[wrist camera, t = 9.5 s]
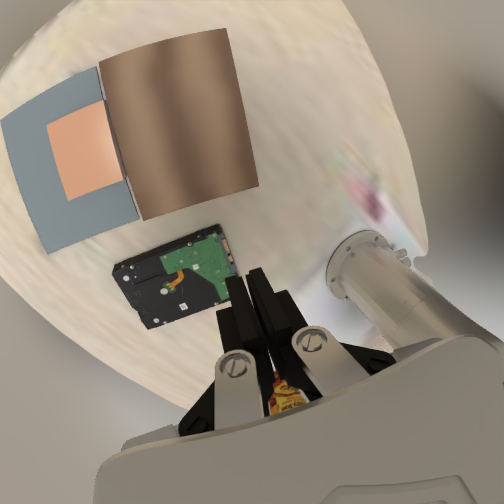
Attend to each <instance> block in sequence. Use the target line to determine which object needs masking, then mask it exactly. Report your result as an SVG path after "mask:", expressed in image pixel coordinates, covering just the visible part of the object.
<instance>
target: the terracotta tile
mask: <svg viewBox="0 0 504 504" xmlns="http://www.w3.org/2000/svg"><path fill="white" fill-rule="evenodd" d="M46 126H47V131H48V135H49V139H50V143H51V147H52V151H53V155H54V158H55V162H56V165H57V168H58V172H59V175H60V178H61V181H62V184H63V187H64V190H65V193H66V196H67V199H68V201H69V200H72V199H74V198H77V197H79V196H82V195H84V194H87V193H89V192H92V191H94V190H97V189H100V188H102V187H105V186H108V185H111V184H113V183H116V182H119V181H122V180H124V179H125V177H126V173H125V169H124V166H123V162H122V159H121V155H120V151H119V148H118V144H117V140H116V136H115V132H114V128H113V123H112V119H111V115H110V112H109V107H108V103H107V101H106V100H102V101H99V102H96V103H94V104H92V105H89V106H87V107H84V108H82V109H80V110H77V111H75V112H73V113H71V114H69V115H66V116H64V117H62V118H60V119H58V120H56V121H54V122H52V123H50V124H48V125H46Z"/></svg>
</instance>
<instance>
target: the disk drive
mask: <svg viewBox="0 0 504 504" xmlns="http://www.w3.org/2000/svg"><path fill="white" fill-rule="evenodd" d="M233 275H236V276H237V278H238V277H239V275H238V273H237V269H236V266H235V264H234V261H233V258H232V256H231V253H230V250H229V247H228V245H227V242H226V239H225V236H224V234H223V231H222V228H221V226H220V224H217V225H214V226H211V227H208V228H206V229H202V230H200V231H197V232H195V233H193V234H190V235H187V236H185V237H183V238H180V239H177V240H175V241H172V242H169V243H167V244H164V245H162V246H159V247H157V248H154V249H152V250H150V251H147V252H145V253H142V254H140V255H137V256H135V257H131V258H129V259H127V260H124V261H122V262H120V263H118V264H115V265H114V268H113V272H112V276H113V277H114V279H115V281H116V282H117V284H118V286H119V287H120V289H121V290H122V292H123V293H124V295H125V297H126V298H127V300H128V301H129V303H130V305H131V306H132V308H134V309H135V310H136V311H138V314H139V316H140V320H141V321H142V322H143V324H144V325H145V327H146V328H147V329H148V330H149V329H152V328H156V327H159V326H162V325H164V324H166V323H170V322H173V321H175V320H178V319H181V318H183V317H186V316H189V315H191V314H194V313H197V312H199V311H202V310H205V309H208V308H210V307H214V306H215V305H218V304H221V303H225V302H227V301H230V298H229V294H228V290H227V287H226V283H225V279H224V278H226V277H229V276H233Z"/></svg>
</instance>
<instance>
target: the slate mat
mask: <svg viewBox="0 0 504 504" xmlns="http://www.w3.org/2000/svg"><path fill="white" fill-rule="evenodd" d="M102 100H103V96H102V92H101V87H100V83H99V78H98V73H97V68H96V66H95V67H93V68H90V69H88V70H86V71H84V72H81V73H79V74H77V75H75V76H73V77H71V78H69V79H67V80H65V81H63V82H61V83H59V84H57V85H55V86H53V87H52V88H50V89H48V90H46V91H45V92H43V93H41V94H39V95H38V96H36V97H34V98H33V99H31V100H29V101H28V102H26V103H25V104H23V105H22V106H20V107H19V108H17V109H16V110H14V111H13V112H11V113H10V114H8V115H7V116H5V117H4V118H3V119H1V120H0V122H1V127H2V132H3V136H4V140H5V144H6V148H7V152H8V155H9V159H10V162H11V166H12V169H13V172H14V175H15V178H16V181H17V184H18V187H19V190H20V193H21V195H22V198H23V201H24V203H25V206H26V208H27V211H28V213H29V216H30V218H31V221H32V223H33V225H34V227H35V230H36V232H37V234H38V236H39V238H40V241H41V243H42V245H43V247H44V249H45V251H46V253H47V255H48V254H50V253H53V252H55V251H57V250H60V249H62V248H64V247H67V246H69V245H72V244H74V243H77V242H79V241H82V240H84V239H87V238H89V237H92V236H95V235H97V234H100V233H102V232H105V231H108V230H110V229H113V228H116V227H119V226H121V225H124V224H127V223H130V222H133V221H135V220H138V219H139V216H138V213H137V210H136V207H135V205H134V202H133V199H132V196H131V193H130V190H129V187H128V184H127V181H126V178H125V179H124V180H122V181H119V182H116V183H113V184H111V185H108V186H105V187H102V188H100V189H97V190H94V191H92V192H89V193H87V194H84V195H82V196H79V197H77V198H74V199H72V200H69V201H68V199H67V196H66V193H65V190H64V187H63V184H62V181H61V178H60V175H59V172H58V168H57V165H56V162H55V158H54V155H53V151H52V147H51V143H50V139H49V135H48V131H47V126H46V125H48V124H50V123H52V122H54V121H56V120H58V119H60V118H62V117H64V116H66V115H69V114H71V113H73V112H75V111H77V110H80V109H82V108H84V107H87V106H89V105H92V104H94V103H96V102H99V101H102Z"/></svg>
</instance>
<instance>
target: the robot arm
mask: <svg viewBox="0 0 504 504" xmlns="http://www.w3.org/2000/svg"><path fill="white" fill-rule="evenodd" d="M406 255H407V251H406V250H405V249H404V248H403V249H401V250H398V251H397V252H395V251H393V250H391V249H390V247H389V244H388V242H387V240H386V239H385V238H384V237H383V236H382V235H380V234H379V233H377V232H374V231H362V232H359V233H356V234H355V235H353V236H351V237H350V238H348V239H347V240H346V241H344V242H343V243H342V244H341V245H340V246H339V248H338V249H337V250H336V252H335V253H334V255H333V256H332V258H331V260H330V263H329V265H328V269H327V274H326V281H327V285H328V287H329V289H330V291H331V292H332V293H333V294H334V295H335V296H336V297H337V298H340V299H343V300H352V301H353V302H354V303H355V305H356V306H357V307H358V308H359V309H360V310H361V311H362V313H363V314H364V315H365V316H366V317H367V318H368V319H369V321H370V322H371V323H372V324H373V325H374V326H375V327H376V329H377V330H378V331H379V332H380V333H381V334H382V336H383V337H384V338H385V339H386V340H387V342H388V343H389V344H390V345H391V346H392V347H393V349H394V350H393V353H387V352H384V351H380V350H375V349H369V348H364V347H359V346H355V345H350V344H345V343H341V342H338V341H337V340H336V339H335V338H334V337H333V336H332V334H331V333H330V332H329V331H327V330H326V329H325V328H323V327H320V326H308V324H307V323H306V321H305V319H304V317H303V316H302V314H301V312H300V311H299V309H298V307H297V306H296V304H295V302H294V301H293V299H292V297H291V295H290V294H289V292H288V291H287V290H283V291H280V292H277V293H274V291H273V289H272V287H271V285H270V283H269V282H268V280H267V278H266V276H265V274H264V272H263V270H262V268H261V267H259V268H256V269H253V270H250V271H249V274H248V275H245V276H246V280H247V284H248V288H249V292H250V295H251V299H252V302H251V300H250V297H249V294H248V292H247V289H246V286H245V284H244V281H243V279H242V276H241V277H238V278H237V276H236V275H233V276H229V277H226V278H224V279H225V283H226V287H227V290H228V294H229V298H230V301H231V305H232V307H228V308H225V309H221V310H218V311H216V315H217V320H218V325H219V330H220V335H221V340H222V345H223V349H224V354H223V355H222V356H221V357H220V358H219V359H218V361H217V362H216V366H215V380H214V382H213V383H212V384H211V385H210V386H209V388H208V389H207V390H206V391H205V392H204V394H203V395H202V396H201V397H200V398H199V400H198V401H197V402H196V403H195V404H194V406H193V407H192V408H191V409H190V410H189V411H188V413H187V414H186V415H185V416H184V417H183V418H182V420H181V421H180V423H179V424H178V425H175V426H173V425H172V424H171V425H168V426H166V427H163V428H160V429H158V430H155V431H152V432H150V433H146V434H144V435H141V436H138V437H134V438H132V439H129V440H128V441H126V442H125V444H123V446H122V449H121V452H119V453H117V454H115V455H113V456H112V457H110V458H109V459H107V460H106V461H104V463H103V464H102V465H101V466H100V468H99V469H98V472H97V475H96V479H95V485H94V497H93V504H504V342H503V341H501V340H500V339H499V338H497V337H496V336H495V335H493V334H492V333H490V332H489V331H487V330H486V329H484V328H483V327H481V326H480V325H478V324H477V323H476V322H474V321H473V320H471V319H470V318H469V317H467V316H466V315H465V314H464V313H462V312H461V311H460V310H459V309H457V308H456V307H455V306H454V305H453V304H451V303H450V302H449V301H448V300H447V299H445V298H444V297H443V296H442V295H441V294H440V293H438V292H437V291H436V290H435V289H434V288H433V287H431V286H430V285H429V284H428V283H427V282H425V281H424V280H423V279H422V278H420V277H419V276H418V275H417V274H416V273H414V272H413V271H412V270H411V269H409V267H410V266H411V261H410V259H409V258H408V257H405V258H403V259H400V260H399V258H402V257H404V256H406ZM252 303H253V305H252ZM253 307H254V308H253ZM268 351H269V352H268ZM269 353H270V356H271V358H272V361H273V364H274V366H275V369H276V371H277V374H278V376H279V379H280V381H282V380H285V381H286V383H287V386H289V385H290V386H291V387H294V388H297V389H299V391H300V393H301V395H302V396H303V398H304V399H305V401H306V402H307V403H306V404H304V405H301V406H298V407H295V408H292V409H290V410H287V411H284V412H281V413H277V414H274V415H271V410H270V404H269V399H270V398H271V396H272V395H273V393H274V392H275V391H274V387H273V383H276V378H275V375H274V371H273V367H272V363H271V359H270V356H269Z"/></svg>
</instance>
